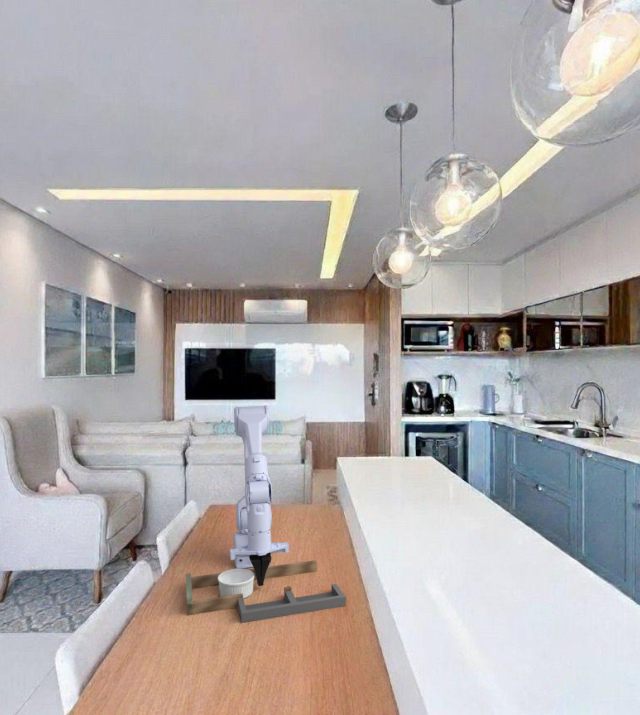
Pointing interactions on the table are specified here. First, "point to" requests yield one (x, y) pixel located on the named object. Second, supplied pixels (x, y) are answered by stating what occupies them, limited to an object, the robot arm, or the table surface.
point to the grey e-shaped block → (291, 605)
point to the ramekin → (236, 582)
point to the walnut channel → (232, 600)
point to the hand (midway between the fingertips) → (260, 584)
